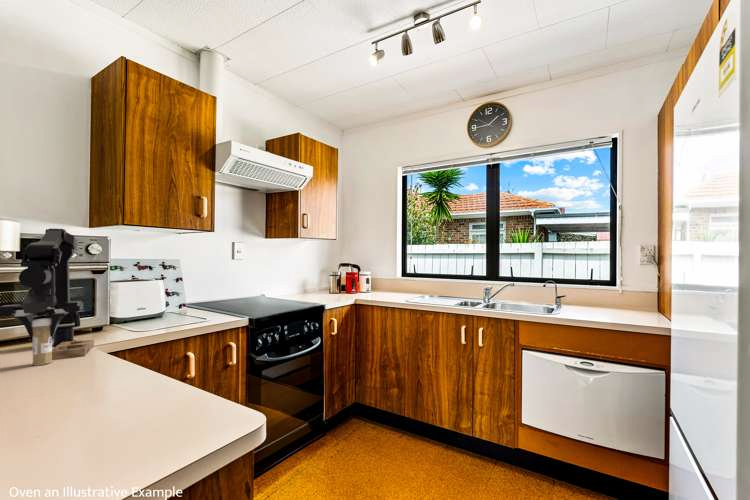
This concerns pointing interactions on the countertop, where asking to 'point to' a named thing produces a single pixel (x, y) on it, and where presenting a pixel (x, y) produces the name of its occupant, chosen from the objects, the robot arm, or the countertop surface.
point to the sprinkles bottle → (42, 341)
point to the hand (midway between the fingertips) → (42, 337)
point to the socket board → (72, 349)
